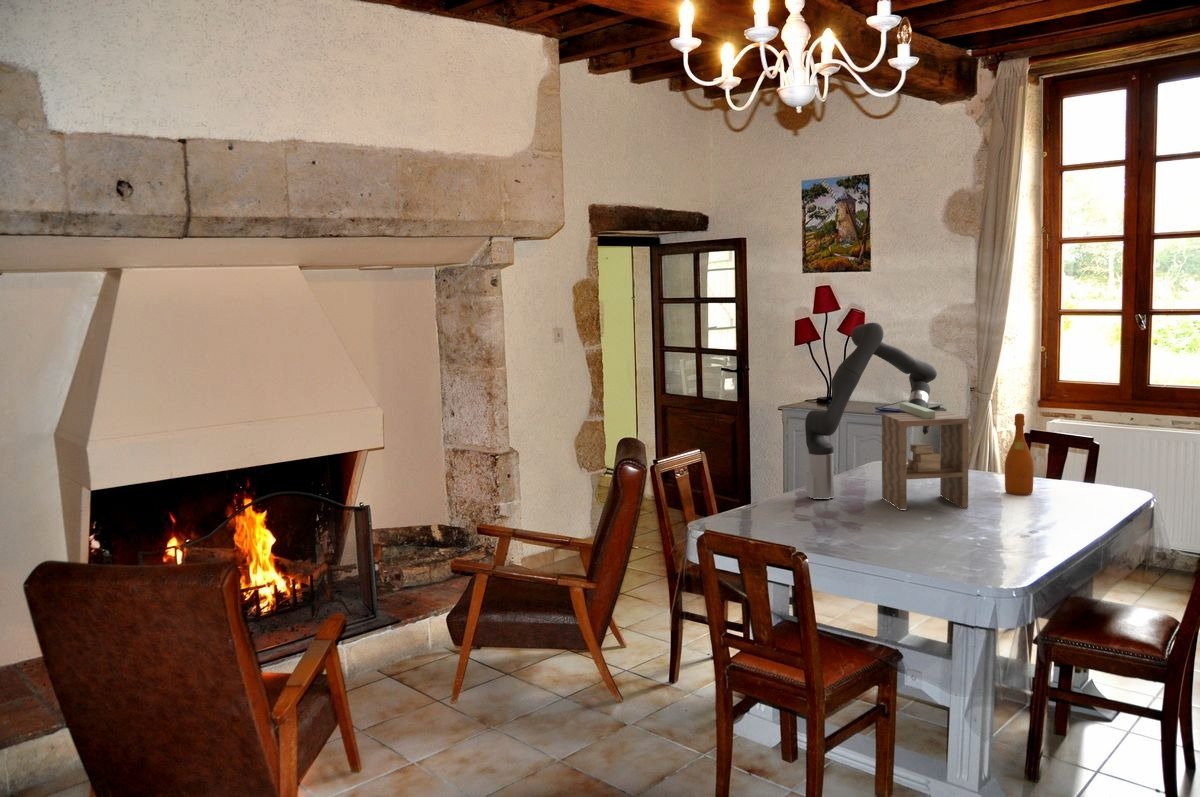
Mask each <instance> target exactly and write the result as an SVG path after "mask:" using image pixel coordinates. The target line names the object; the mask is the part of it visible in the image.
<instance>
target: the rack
mask: <svg viewBox="0 0 1200 797" xmlns="http://www.w3.org/2000/svg"><path fill="white" fill-rule="evenodd" d="M934 411H935V418H923V417H920V416H917V415H914V414H911V413H907V412H896V413H894V412H893V413H881V495H882V496H881V497H883V498H884V499H886V500H887V501H889V502H891V503H892V504H894V505H895V506H896V507H898V508H899V509H907V508H908V506H907V505H908V502H907V501H908V500H907V498H908V497H907V496H908V495H907V490H908V488H907V484H908V483H907V480H922V479H927V480H928V479H940V482H939V483H940V486H939V489H940V490H939V491H940V492H939V493H940V495H942V496H943V497H945V498H947V499H949V500H950V501H952V502H954V503H955V504H954V503H953V504H954V505H956V504H957V505H956V506H958V505H959V506H961V507H962V508H961V507H960V508H961V509H967V508H966V507H968V508H969V423H970V422H969V420H970V419H969V417H966V416H963V415H960V414H956V413H953V412H950V411H947V410H945V411H944V410H943V411H942V410H939V411H938V410H937V411H936V410H934ZM932 425H934V426H940V430H939V431H940V434H939V435H940V436H939V437H940V439H939V440H940V443H939V444H940V445H939V446H940V447H939V448H940V452H939V453H938V452H936V451H934V446H933V445H932V444H929V443H926V442H925V443H910V445H909V447H910V448H909V450H910V452H911V453H912V458H911V457H910V458H908V459H907V429H906V427H910V426H911V427H923V426H930V427H931V426H932ZM911 427H910V428H911ZM932 427H933V426H932ZM943 497H942V498H943ZM945 498H944V499H945ZM947 499H946V500H947ZM950 501H949V502H950ZM952 502H951V503H952ZM959 506H958V507H959ZM907 510H908V509H907Z"/></svg>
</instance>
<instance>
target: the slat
mask: <svg viewBox="0 0 1200 797" xmlns="http://www.w3.org/2000/svg"><path fill="white" fill-rule="evenodd" d="M899 410H901V411H903V412H905V413H907V412H909V413H911V414H914V415H917V416H920V417H923V418H935V411H936V410H934V409H931V408H929V407H928V408H925V407H921V406H918V405H915V404H912V403H909V402H906V401H905V402H899Z"/></svg>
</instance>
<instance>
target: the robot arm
mask: <svg viewBox="0 0 1200 797" xmlns="http://www.w3.org/2000/svg"><path fill="white" fill-rule="evenodd" d="M850 337H851V341H852V343H853V344H854V345H855V346H856V348H854V350H853V351H852V352H851V353H850V354H849V355H848V356H847V357H846V358H845V359H844V360H843V361H842V362H841V363H840V365H839V366H838V367H837V368H836V371H835V373H834V374H833V377H832V378H831V381H830V383H831V384H830V386H831V392H832V393H831V394H832V400H831V403H830V405H829V406H828V408H827V410H818V409H813V410H810V411H809V412H807V415H806V417H805V423H804V424H805V425H804V427H805V428H804V430H805V431H804V432H805V441H806V442H805V443H806V446H807V447H806V448H807V452H808V456H807V457H808V471H807V472H806V496H807V495H809V496H811V497H813V498H817V497H818V498H829V497H833V496H834V497H835V486H834V485H835V484H834V483H835V482H834V481H835V479H834V478H835V475H834V470H835V469H834V468H835V467H834V446H833V444H831V443H830V442H829V441H827V440H826V439H825V437H830V436H832V435H833V434H835V432H836V431H837V429H838V427H839V425H840V422H841V420H842V418H843V415H844V413H845V409H846V407H847V405H848V402H849V401H850V399H851V398H852V397H851V396H852V395H853V392H854V391H855V389H856V388H857V385H858V383H859V382H860V379H861V377H862V375H863V373H864V371H865V369H866V368H867V365H868V364H869V362H870V360H871V358H872V357H873V355H874V356H877V357H878V358H879V359H882V360H883V361H885V362H887V363H889V364H890V365H892V366H893V367H894V368H896V369H897V370H898V371H900V372H902V374H905V375H909V376H908V379H909V383H910V394H909V397H908V402H909V403H912V404H915V405H918V406H921V407H925V408H928V409H929V404H930V398H929V397H930V392H931V387H930V384H929V383H930V382H932V381H934V380H935V379H936V378H937V375H938V374H937V370H936V369H935V367H934V366H933V365H932V364H931V363H928V362H926V361H923V360H920V359H917V358H914V357H913V356H911V355H910V354H909V353H907V352H906V351H904V350H902V349H900V348H898V347H895V346H892V345H889V344H887V343H885V342H883V340H884V328H883V326H882V325H881V324H880V323H878V322H867V323H863V324H860V325H857V326H855V327H853V329H852V331H851V334H850ZM906 413H909V412H906ZM934 426H935V425H932V427H934ZM911 427H912V426H910V427H906V430H907V429H910V428H911ZM930 427H931V426H922V433H923V434H924V435H927V434H928V433H929V428H930ZM824 436H825V437H824Z"/></svg>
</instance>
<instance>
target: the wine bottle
mask: <svg viewBox="0 0 1200 797" xmlns="http://www.w3.org/2000/svg"><path fill="white" fill-rule="evenodd" d="M1013 425H1014V426H1015V432H1014V437H1013V438H1014V439H1013V441H1012V443H1011V445H1010V448H1009V449H1008V452H1007V454H1006V457H1005V462H1004V490H1005V492H1006V493H1007V494H1009V495H1013V496H1014V495H1015V496H1027V495H1031V494H1032V493H1033V492H1034V491H1033V490H1034V472H1035V471H1034V470H1035V469H1034V460H1033V456H1032V453H1031V450H1030V449H1029V446H1028V444H1027V442H1026V439H1025V434H1024V432H1025V431H1024V427H1025V414H1024V413H1021V412H1019V413H1015V415H1014V423H1013Z"/></svg>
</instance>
